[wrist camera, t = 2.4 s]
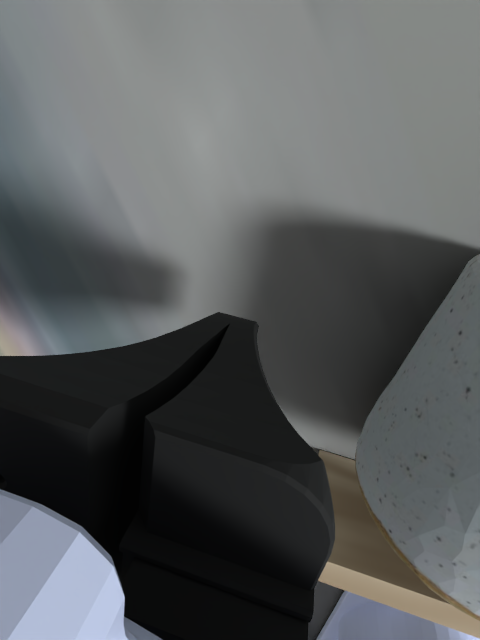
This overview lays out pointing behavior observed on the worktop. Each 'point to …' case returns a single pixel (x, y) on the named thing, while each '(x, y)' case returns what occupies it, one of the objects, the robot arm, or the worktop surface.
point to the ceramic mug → (432, 451)
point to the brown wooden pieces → (377, 557)
